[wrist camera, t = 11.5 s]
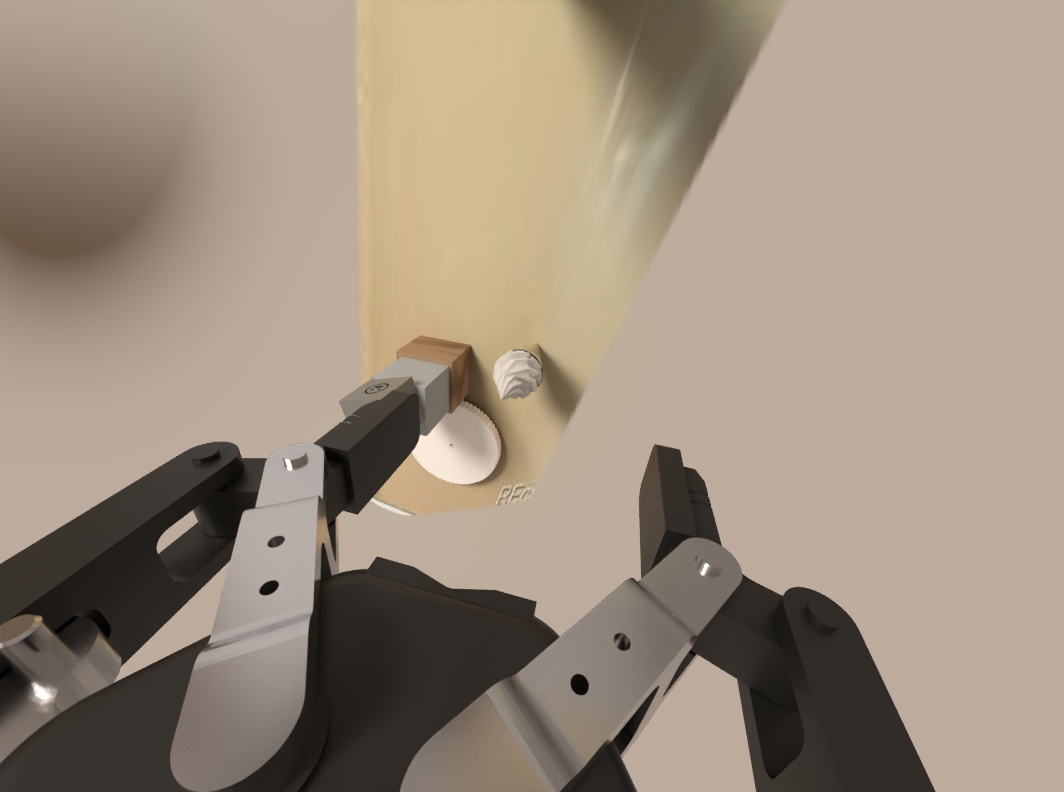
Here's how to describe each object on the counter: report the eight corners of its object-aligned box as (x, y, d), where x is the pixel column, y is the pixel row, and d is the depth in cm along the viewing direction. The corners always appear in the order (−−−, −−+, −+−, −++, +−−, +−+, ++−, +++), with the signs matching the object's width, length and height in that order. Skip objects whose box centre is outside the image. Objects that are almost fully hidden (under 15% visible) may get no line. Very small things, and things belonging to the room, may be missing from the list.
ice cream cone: (560, 331, 45) (532, 383, 32) (552, 368, 48) (523, 432, 35) (520, 321, 46) (476, 369, 33) (514, 358, 48) (471, 417, 35)
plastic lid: (419, 380, 54) (410, 388, 51) (513, 413, 52) (507, 422, 50) (411, 455, 60) (402, 465, 58) (493, 485, 59) (487, 496, 57)
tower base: (420, 335, 50) (396, 351, 45) (471, 345, 49) (452, 362, 44) (422, 382, 53) (399, 402, 48) (469, 392, 52) (451, 413, 47)
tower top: (401, 356, 45) (371, 377, 40) (449, 365, 44) (424, 388, 39) (404, 400, 48) (377, 425, 43) (449, 410, 47) (426, 436, 42)
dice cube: (370, 379, 40) (338, 401, 36) (411, 376, 39) (384, 398, 34) (386, 420, 42) (358, 446, 38) (426, 419, 41) (401, 445, 36)
